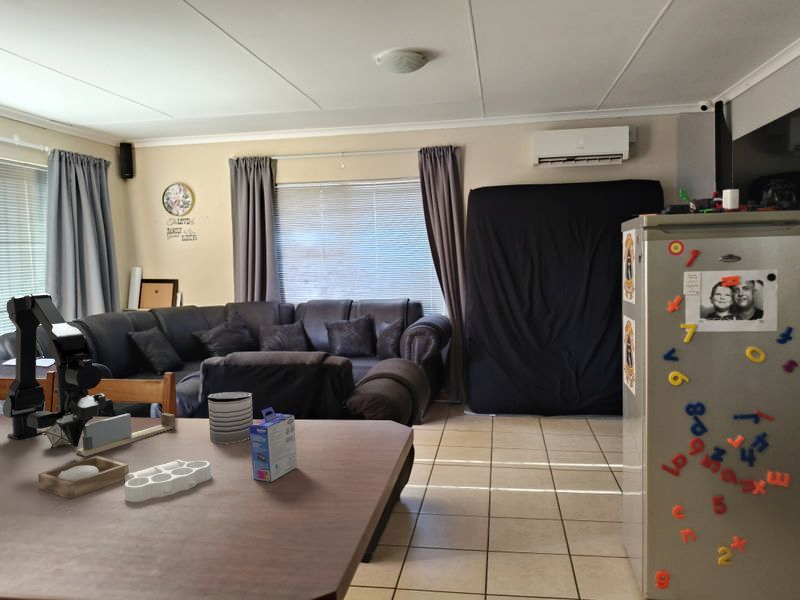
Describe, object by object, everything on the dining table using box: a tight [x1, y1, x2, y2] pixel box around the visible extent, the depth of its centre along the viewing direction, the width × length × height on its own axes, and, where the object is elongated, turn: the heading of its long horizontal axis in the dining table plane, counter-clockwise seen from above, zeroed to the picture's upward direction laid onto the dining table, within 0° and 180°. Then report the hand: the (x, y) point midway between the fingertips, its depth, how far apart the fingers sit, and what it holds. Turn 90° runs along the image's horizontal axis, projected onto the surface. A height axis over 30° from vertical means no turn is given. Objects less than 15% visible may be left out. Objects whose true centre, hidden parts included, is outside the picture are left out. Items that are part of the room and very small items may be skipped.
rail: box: [75, 412, 176, 457], centre depth 156 cm, size 4×26×4 cm, turn 148°
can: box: [207, 391, 254, 444], centre depth 157 cm, size 11×11×12 cm
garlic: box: [58, 465, 100, 482], centre depth 126 cm, size 8×7×4 cm
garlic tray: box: [37, 455, 130, 500], centre depth 127 cm, size 12×13×3 cm
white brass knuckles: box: [124, 459, 212, 503], centre depth 125 cm, size 3×18×15 cm
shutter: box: [82, 413, 132, 450], centre depth 151 cm, size 2×12×6 cm, turn 148°
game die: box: [42, 424, 71, 449], centre depth 153 cm, size 9×8×10 cm
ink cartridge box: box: [250, 406, 298, 483], centre depth 130 cm, size 10×6×14 cm, turn 155°
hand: (75, 446), depth 144 cm, fingers closed
